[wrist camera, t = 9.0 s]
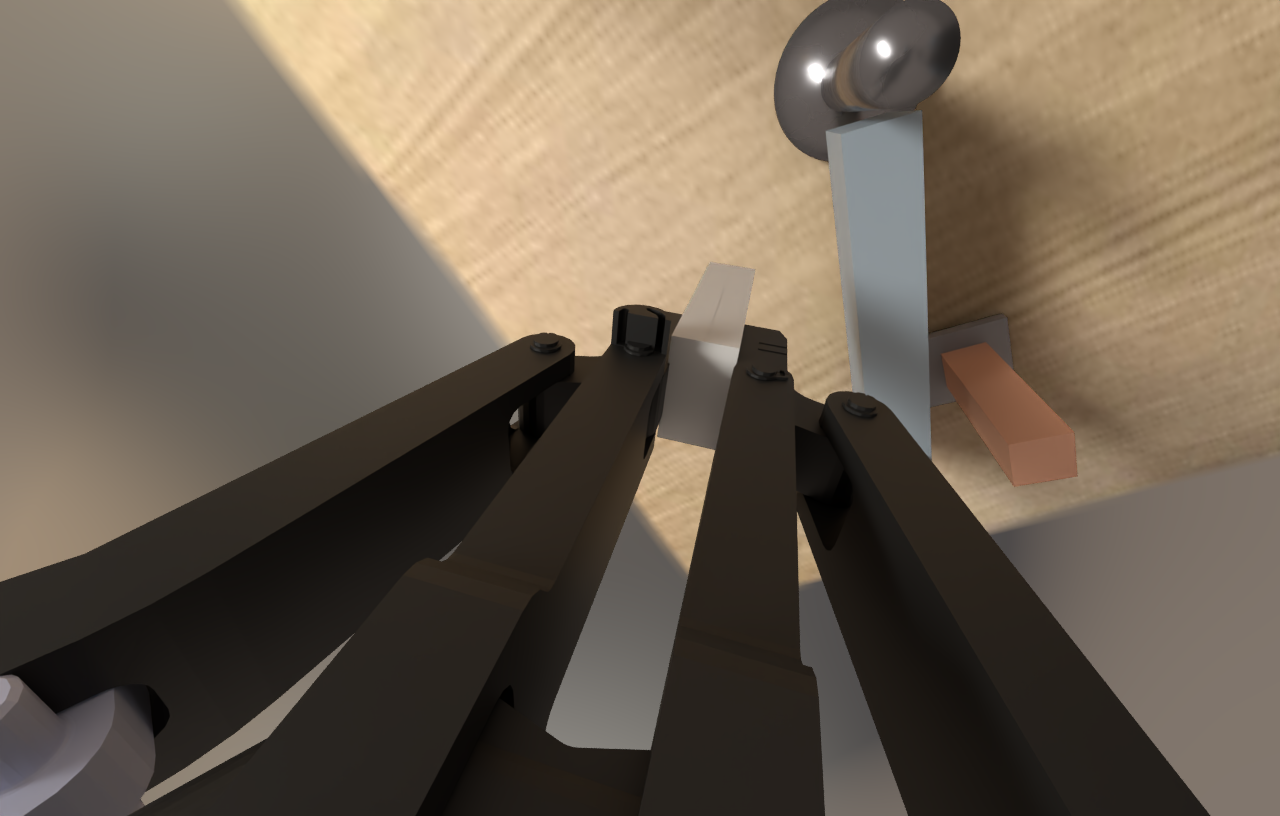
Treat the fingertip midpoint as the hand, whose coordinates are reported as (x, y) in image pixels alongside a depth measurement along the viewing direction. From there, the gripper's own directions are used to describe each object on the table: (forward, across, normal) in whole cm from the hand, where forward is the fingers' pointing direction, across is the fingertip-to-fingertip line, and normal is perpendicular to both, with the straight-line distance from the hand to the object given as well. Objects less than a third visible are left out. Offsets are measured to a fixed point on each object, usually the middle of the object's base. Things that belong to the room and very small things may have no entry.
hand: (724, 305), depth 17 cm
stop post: (+11, +12, -4) cm, 17 cm away
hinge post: (+10, +3, +7) cm, 13 cm away
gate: (+10, +6, -1) cm, 12 cm away
